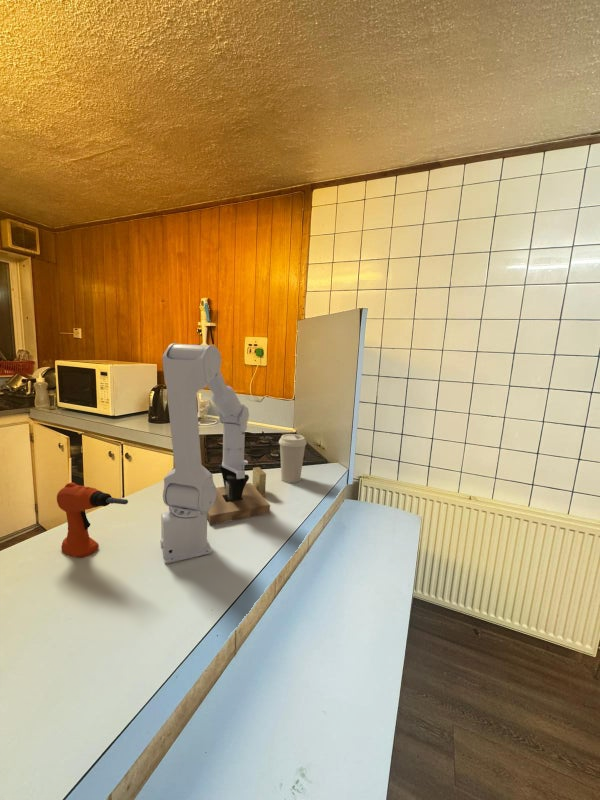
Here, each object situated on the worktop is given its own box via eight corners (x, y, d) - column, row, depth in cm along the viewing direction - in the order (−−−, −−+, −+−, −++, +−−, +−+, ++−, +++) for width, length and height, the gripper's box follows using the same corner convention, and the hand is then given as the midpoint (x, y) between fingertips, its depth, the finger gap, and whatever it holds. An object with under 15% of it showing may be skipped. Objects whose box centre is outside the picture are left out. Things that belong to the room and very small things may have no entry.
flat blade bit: (258, 496, 100) (259, 474, 99) (252, 488, 105) (253, 467, 104) (265, 495, 101) (265, 473, 100) (258, 488, 106) (259, 467, 105)
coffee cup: (302, 486, 109) (304, 441, 107) (274, 482, 111) (275, 439, 108) (306, 475, 118) (308, 434, 116) (280, 472, 120) (282, 432, 118)
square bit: (228, 509, 91) (229, 485, 90) (225, 504, 94) (225, 480, 93) (241, 507, 92) (242, 483, 91) (237, 502, 96) (238, 478, 94)
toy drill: (124, 568, 63) (114, 492, 61) (56, 555, 69) (45, 485, 68) (144, 554, 67) (135, 482, 66) (78, 543, 74) (69, 477, 72)
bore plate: (209, 525, 82) (209, 515, 82) (197, 498, 96) (197, 490, 96) (269, 513, 90) (269, 504, 89) (250, 490, 104) (250, 482, 103)
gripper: (256, 453, 86) (255, 502, 88) (240, 439, 99) (238, 482, 101) (229, 456, 83) (228, 507, 85) (216, 441, 95) (215, 485, 97)
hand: (232, 494), depth 93 cm, fingers open, 7 cm apart
